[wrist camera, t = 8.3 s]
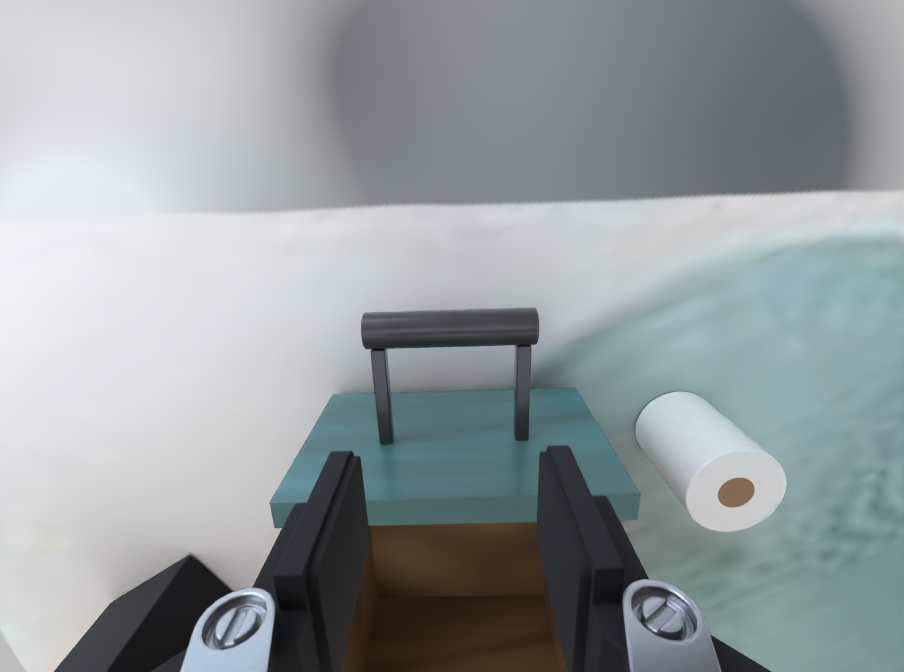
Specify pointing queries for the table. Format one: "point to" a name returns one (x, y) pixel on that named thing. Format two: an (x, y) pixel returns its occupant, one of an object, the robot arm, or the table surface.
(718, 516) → the paper towel roll
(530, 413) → the drawer
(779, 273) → the table surface
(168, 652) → the black square column
